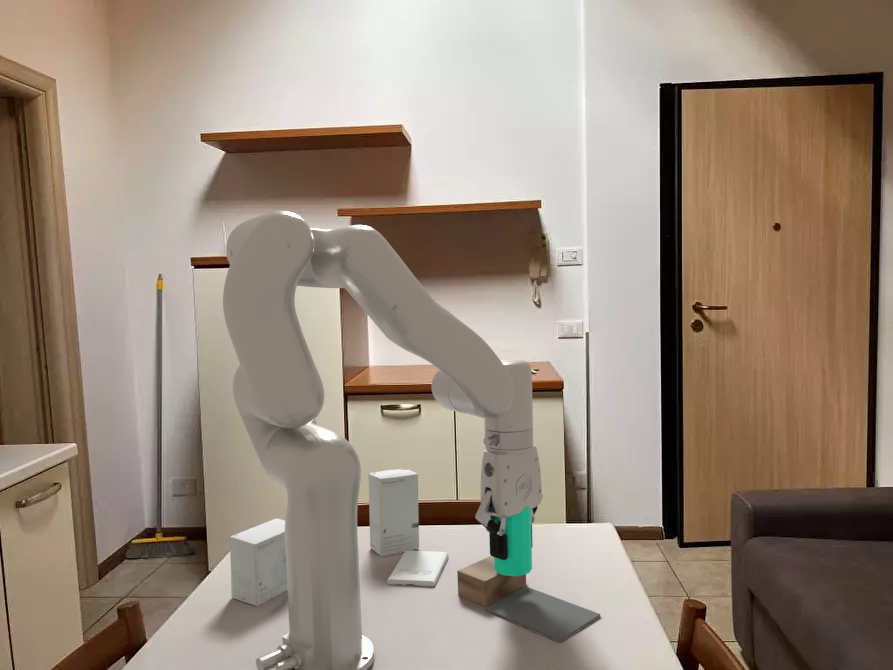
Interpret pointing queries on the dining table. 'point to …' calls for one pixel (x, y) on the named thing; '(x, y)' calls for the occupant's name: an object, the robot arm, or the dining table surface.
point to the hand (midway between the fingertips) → (511, 550)
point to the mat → (543, 613)
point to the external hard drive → (418, 568)
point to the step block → (486, 582)
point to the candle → (517, 545)
